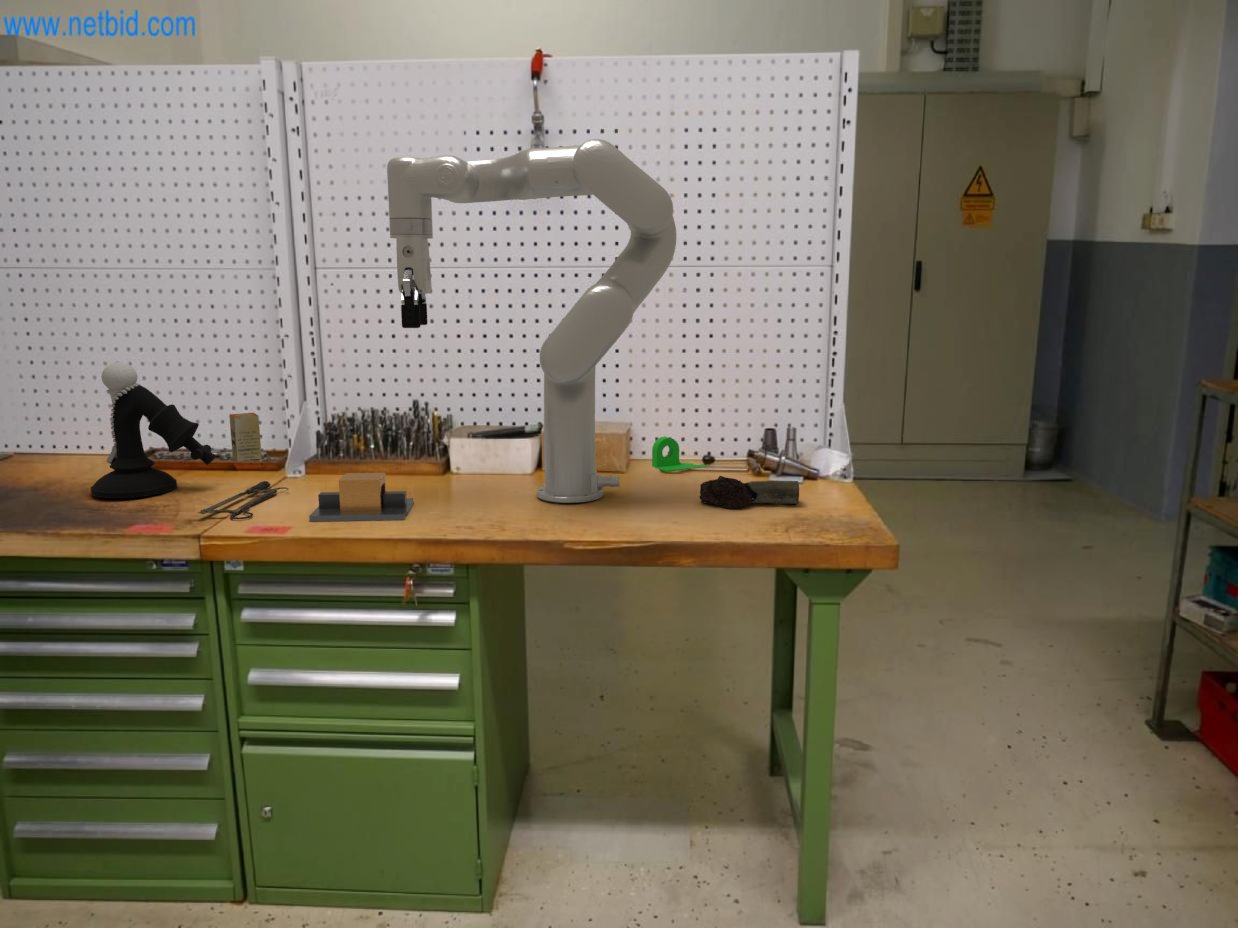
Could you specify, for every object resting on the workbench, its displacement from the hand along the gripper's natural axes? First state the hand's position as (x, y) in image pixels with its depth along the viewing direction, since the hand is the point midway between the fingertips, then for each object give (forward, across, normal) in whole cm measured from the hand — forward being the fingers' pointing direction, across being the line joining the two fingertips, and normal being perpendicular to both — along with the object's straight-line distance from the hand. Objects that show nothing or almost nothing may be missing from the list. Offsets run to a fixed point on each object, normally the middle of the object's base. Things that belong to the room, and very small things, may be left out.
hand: (415, 326), depth 173 cm
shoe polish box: (+32, +29, +41) cm, 60 cm away
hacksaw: (+33, -1, +35) cm, 48 cm away
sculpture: (+32, +11, +53) cm, 63 cm away
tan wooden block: (+31, -10, +9) cm, 34 cm away
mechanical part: (+33, +20, -53) cm, 65 cm away
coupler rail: (+32, -10, +9) cm, 35 cm away
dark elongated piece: (+35, -12, -66) cm, 76 cm away
